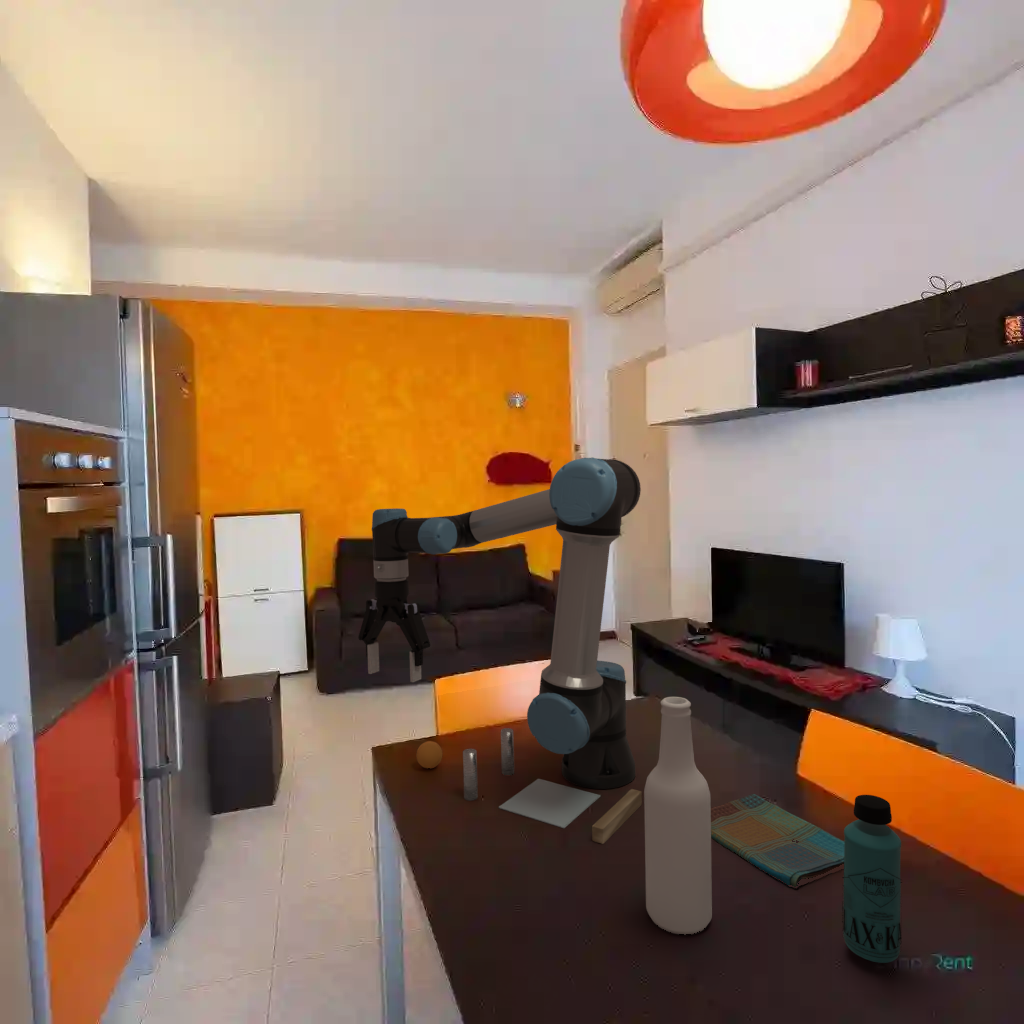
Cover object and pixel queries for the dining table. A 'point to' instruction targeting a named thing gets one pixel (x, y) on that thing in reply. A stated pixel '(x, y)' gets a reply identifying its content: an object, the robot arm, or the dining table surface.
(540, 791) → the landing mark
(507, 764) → the post right
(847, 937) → the beverage bottle
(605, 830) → the wall
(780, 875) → the dish towel
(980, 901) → the dining table surface
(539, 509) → the robot arm
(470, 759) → the post left
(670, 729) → the alcohol
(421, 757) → the ball
